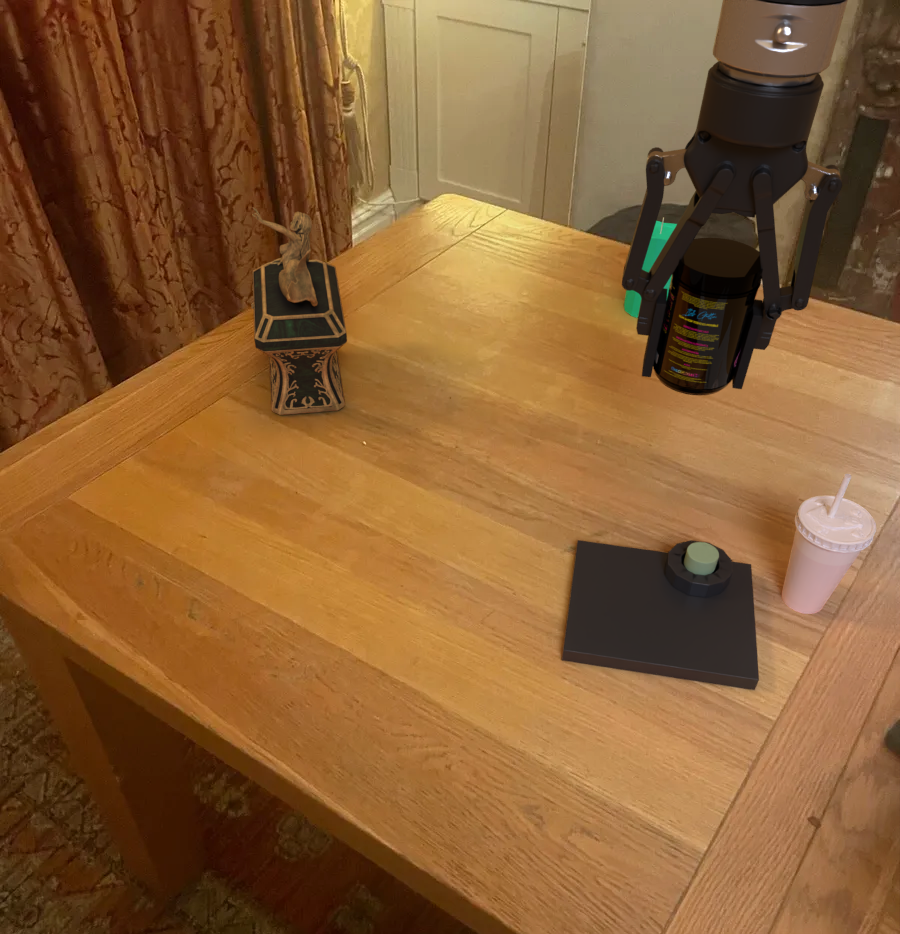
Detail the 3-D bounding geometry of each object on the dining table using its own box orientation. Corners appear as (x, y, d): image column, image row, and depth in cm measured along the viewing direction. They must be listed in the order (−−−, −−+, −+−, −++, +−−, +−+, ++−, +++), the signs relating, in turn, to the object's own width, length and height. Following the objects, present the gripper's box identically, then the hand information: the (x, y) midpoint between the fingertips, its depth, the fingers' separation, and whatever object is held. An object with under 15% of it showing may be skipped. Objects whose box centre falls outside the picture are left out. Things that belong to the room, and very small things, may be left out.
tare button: (714, 556, 82) (718, 544, 81) (715, 577, 80) (719, 565, 79) (683, 552, 82) (687, 539, 81) (683, 573, 80) (687, 560, 79)
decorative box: (261, 347, 110) (237, 181, 96) (340, 341, 112) (328, 177, 98) (265, 444, 97) (238, 267, 83) (355, 437, 98) (343, 261, 84)
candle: (665, 323, 117) (684, 231, 108) (619, 315, 118) (634, 223, 109) (672, 302, 121) (691, 211, 112) (628, 294, 122) (643, 204, 113)
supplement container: (736, 402, 74) (772, 280, 66) (653, 395, 74) (679, 273, 67) (727, 358, 78) (760, 240, 71) (648, 352, 79) (673, 234, 71)
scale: (747, 572, 85) (755, 548, 82) (754, 690, 75) (764, 667, 73) (576, 548, 86) (580, 524, 84) (561, 660, 76) (565, 637, 74)
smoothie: (768, 568, 85) (814, 446, 75) (839, 583, 84) (895, 461, 74) (764, 616, 81) (813, 493, 71) (839, 632, 79) (899, 510, 69)
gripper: (613, 71, 58) (570, 382, 75) (933, 100, 56) (815, 415, 72) (621, 39, 63) (579, 337, 80) (914, 64, 61) (808, 366, 77)
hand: (691, 373), depth 76 cm, fingers closed on supplement container, 7 cm apart
